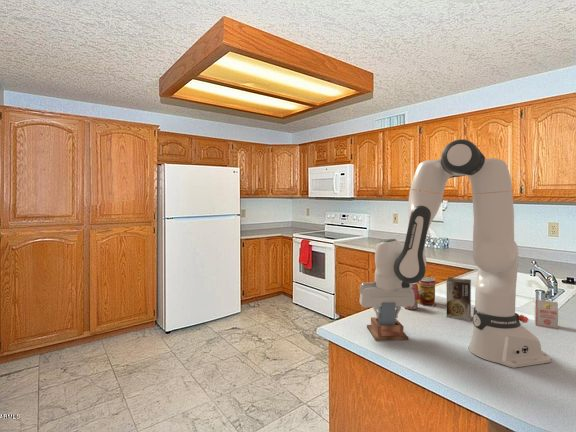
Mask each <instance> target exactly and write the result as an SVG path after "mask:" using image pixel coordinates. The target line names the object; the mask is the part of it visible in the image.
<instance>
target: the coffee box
mask: <svg viewBox="0 0 576 432" xmlns="http://www.w3.org/2000/svg"><path fill="white" fill-rule="evenodd" d="M445 281H446V283H445V284H446V315H445V316H446V318H449V319H450V318H451V319H456V320H463V321H469V322H470V321H471V319H472V314H471V312H472V309H471V308H472V305H471V304H472V290H471V289H472V279H467V278H460V277H459V278H456V277H450V276H449V277H447V279H446V280H445Z"/></svg>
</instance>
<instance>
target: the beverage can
mask: <svg viewBox="0 0 576 432" xmlns="http://www.w3.org/2000/svg"><path fill="white" fill-rule="evenodd" d="M411 289H413V291H414V296H415V304H414V305H413V306H407V307H404V308H405V309H408V310H415V309H418V306H419V304H418V286H417V282H416V283H412V288H411Z"/></svg>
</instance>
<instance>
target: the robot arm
mask: <svg viewBox="0 0 576 432" xmlns="http://www.w3.org/2000/svg"><path fill="white" fill-rule="evenodd" d="M464 176H466V177H467V178H468V179H469V181H470V185H471V195H472V196H471V197H472V209H473V228H472V229H473V231H472V257H473V261H474V264H475V265H476V266H477V274H476V282H475V300H474V301H475V302H474V308H473V312H472V313H473V314H472V315H473V317H472V318H473V319H472V320H473V331H472V335H471V338H470V343H469V345H468V349H469V351H470V352H471V353H472V354H473V355H474V356H476V357H478V358H481V359H484V360H486V361H489V362H491V363H492V362H494V363H495V364H497V363H498V364H501V365H503V366H507V367H509V368H512V369H513V368H515V369H516V368H522V367H527V366H535V365H541V364H548V363H551V362H552V361H551V357H550V356H549V354H547V353H546V352H545V351H543V350H542V346H541V342H540V340H539V338H538V337H537V336H536V335H535V334H533V333H532V332H531V331H529V330H528V329H526V328H525V327H524V326H523V325H522V324H521V322H522V323H523V324H527V323H528V322H529V317H527V316H525V315H524V314H520V315H519V313H517V312H516V297H517V295H516V294H517V293H516V292H517V279H518V277H517V276H518V264H519V247H518V244H517V243H516V241H515V209H514V208H515V206H514V196H513V193H514V192H513V184H512V178H511V175H510V171H509V168H508V164H507V163H506V161H504V160H502V159H501V158H500V159H499V158H491V157H490V158H486V156H485V155H484V153H482V151H481V150H480V149H479V147H478V146H477V145H476V144H475V143H474V142H472V141H471V140H469V139H468V140H467V139H456V140H453V141H451V142H448V143H447V144H446V145H445V146H444V148H443V149H442V152H441V155H440V158H439V159H427V160H423V161H421V162H420V163H419V164H418V165H417V166H416V170H415V172H414V175H413V177H412V181H411V185H410V188H409V193H408V226H407V230H406V231H407V232H406V235H405V240H404V243H401V241H399V240H398V239H395V238H387V239H382V240H380V241H378V242H377V243H376V245H375V250H374V265H375V271H374V281H370V282H369V281H368V282H367V281H363V282H362V283H361V284H360V285H359V289H358V290H359V294H360V295H359V304H360V305H361V307H363V308H373V310H374V313H375V317H376V318H381V314H380V312H378V307H382V303H396V316H395V318H396V319H398V318H399V315H398V314H399V313H400V311H401V310H402V307H404V308H405V307H407V306H413V305H414V304H415V296H414V291H413V289H411V288H412V283H416V284H417V282H419V281H420V280H421V279H422V278H423V277H425V275H426V268H427V267H426V266H427V258H426V255H425V253H424V250H425V245H426V240H427V235H428V231H429V228H430V227H431V224H432V222H433V220H434V219H435V218H436V216H437V214H438V211H439V209H440V207H441V204H442V202H443V198H444V193H445V188H446V185H447V182H448V180H449V179H451V178H459V177H464Z"/></svg>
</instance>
